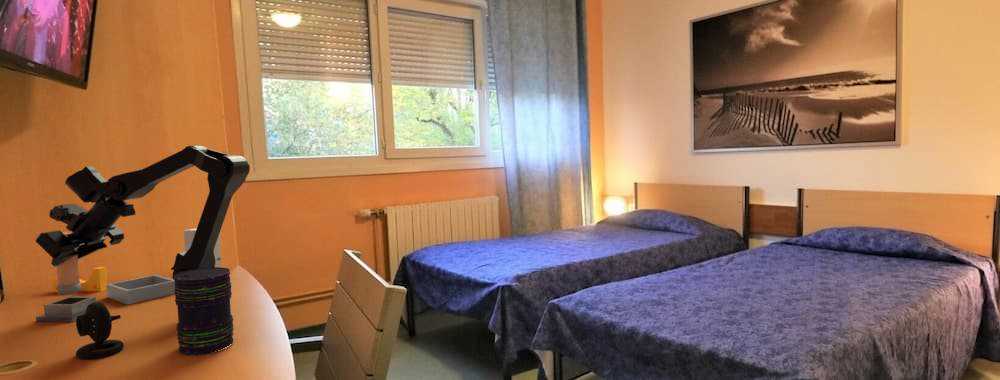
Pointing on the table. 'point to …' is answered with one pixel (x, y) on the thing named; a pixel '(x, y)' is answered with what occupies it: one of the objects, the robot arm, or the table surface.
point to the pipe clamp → (92, 281)
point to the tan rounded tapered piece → (68, 276)
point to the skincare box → (189, 238)
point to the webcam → (97, 332)
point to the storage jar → (203, 310)
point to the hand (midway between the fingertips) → (61, 262)
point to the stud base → (65, 309)
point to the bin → (140, 289)
